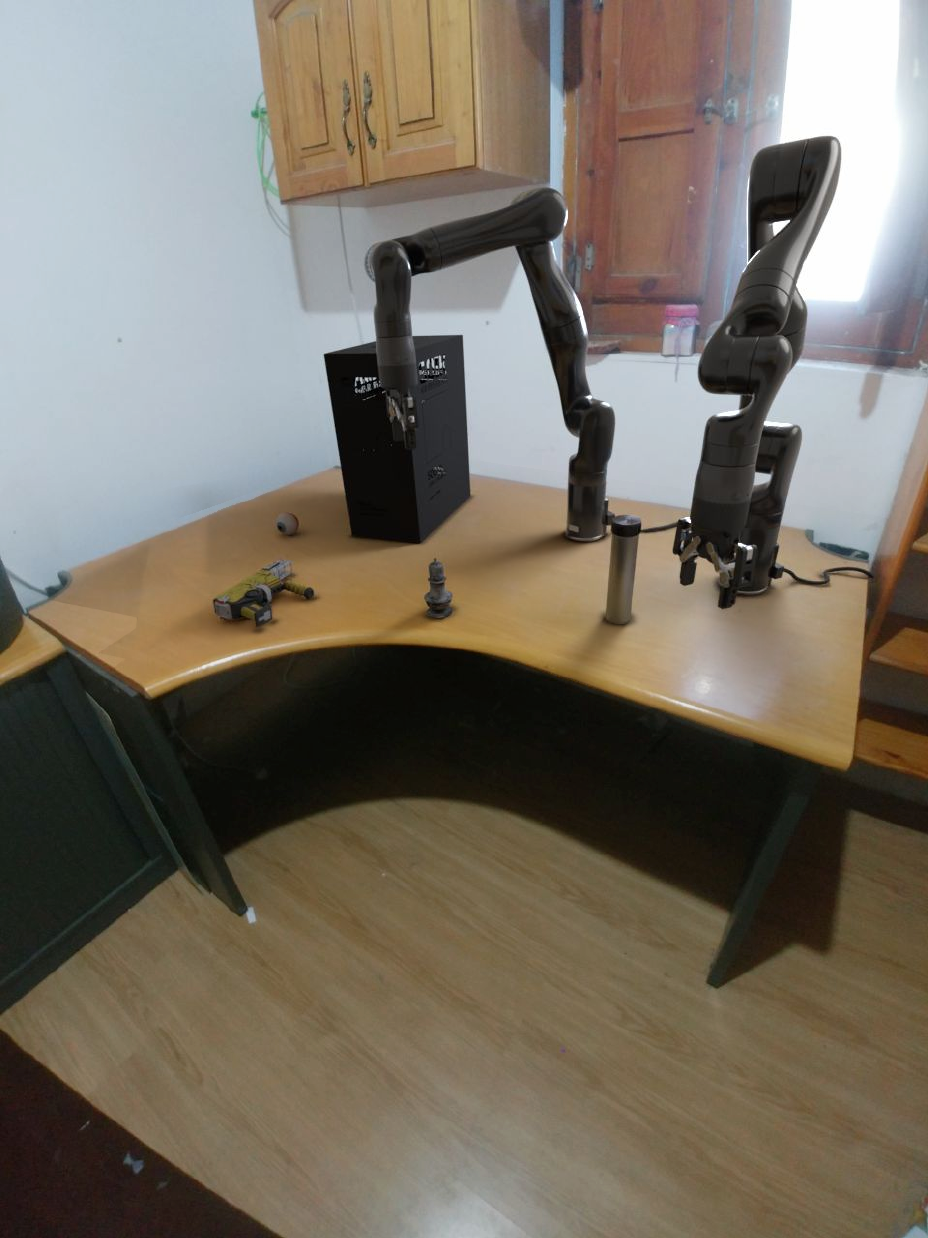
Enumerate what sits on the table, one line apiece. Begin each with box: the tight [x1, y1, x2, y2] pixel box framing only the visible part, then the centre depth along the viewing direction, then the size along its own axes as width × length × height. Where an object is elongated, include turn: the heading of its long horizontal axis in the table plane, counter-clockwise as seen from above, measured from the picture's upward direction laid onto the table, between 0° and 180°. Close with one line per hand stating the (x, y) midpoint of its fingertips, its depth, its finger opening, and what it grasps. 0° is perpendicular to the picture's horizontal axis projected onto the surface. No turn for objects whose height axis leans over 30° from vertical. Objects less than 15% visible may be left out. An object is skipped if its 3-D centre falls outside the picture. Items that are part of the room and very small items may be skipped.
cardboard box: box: [323, 334, 471, 544], centre depth 162 cm, size 38×20×45 cm, turn 159°
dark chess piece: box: [423, 557, 454, 619], centre depth 120 cm, size 6×6×12 cm
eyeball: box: [275, 511, 300, 536], centre depth 163 cm, size 6×6×6 cm
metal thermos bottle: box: [605, 532, 640, 625], centre depth 113 cm, size 5×5×20 cm
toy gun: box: [212, 558, 315, 628], centre depth 130 cm, size 5×24×15 cm
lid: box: [610, 514, 642, 537], centre depth 108 cm, size 5×5×2 cm
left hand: (404, 444), depth 126 cm, fingers open, 8 cm apart
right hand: (704, 595), depth 92 cm, fingers open, 8 cm apart
